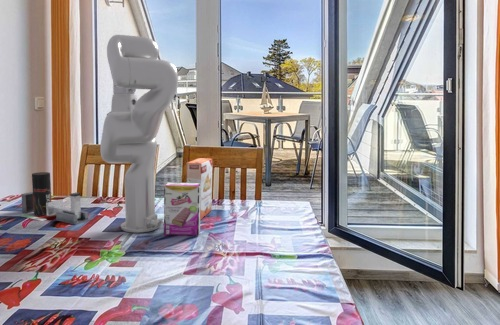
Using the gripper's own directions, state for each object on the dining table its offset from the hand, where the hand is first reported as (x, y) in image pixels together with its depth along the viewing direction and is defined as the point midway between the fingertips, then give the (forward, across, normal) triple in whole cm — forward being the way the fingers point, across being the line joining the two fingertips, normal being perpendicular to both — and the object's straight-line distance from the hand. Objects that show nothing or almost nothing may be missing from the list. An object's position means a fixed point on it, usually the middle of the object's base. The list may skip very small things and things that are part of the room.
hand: (124, 137), depth 157 cm
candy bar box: (+28, -36, +12) cm, 47 cm away
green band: (+28, +22, +20) cm, 41 cm away
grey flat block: (+28, +28, +20) cm, 45 cm away
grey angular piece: (+28, +10, +20) cm, 36 cm away
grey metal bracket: (+28, +6, +20) cm, 35 cm away
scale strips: (+28, +16, +20) cm, 38 cm away
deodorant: (+28, +22, +20) cm, 41 cm away
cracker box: (+28, -28, -9) cm, 41 cm away
